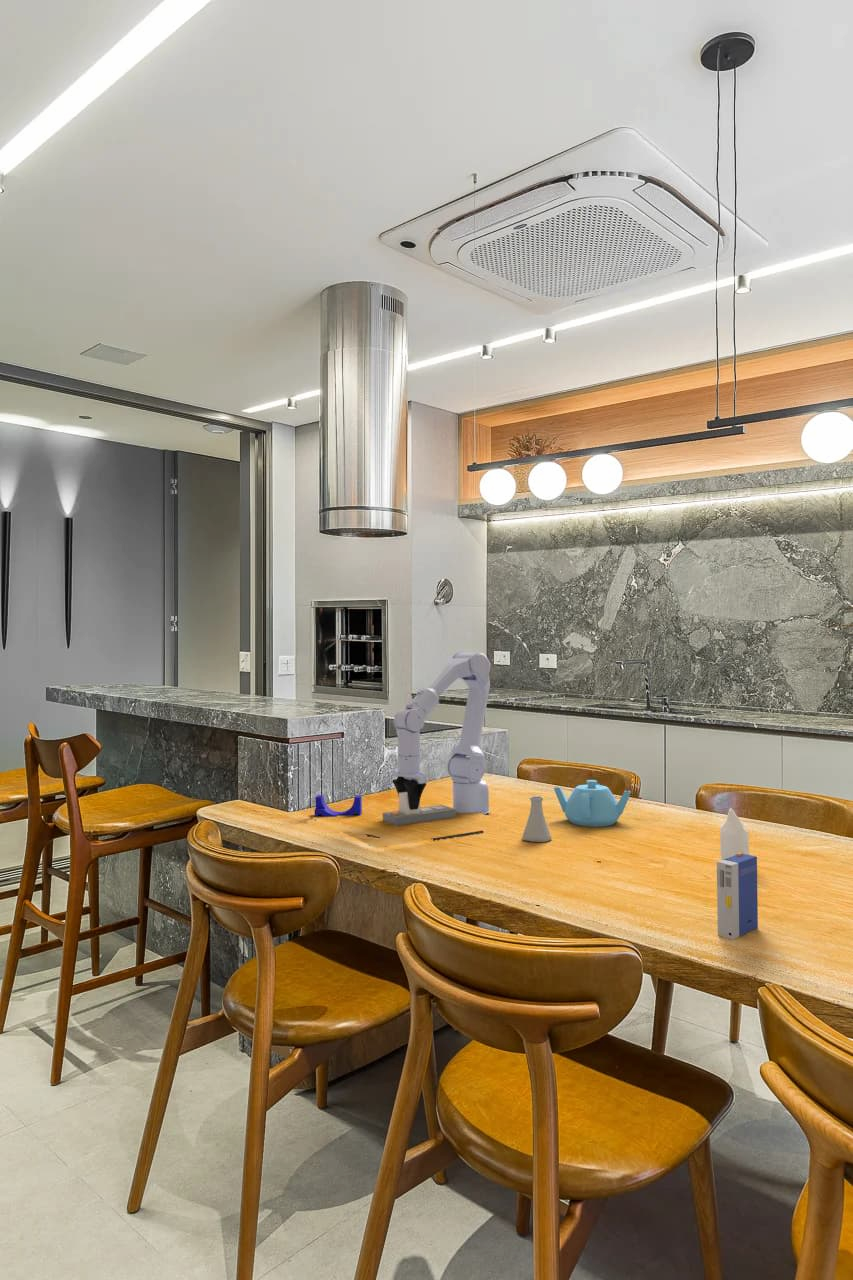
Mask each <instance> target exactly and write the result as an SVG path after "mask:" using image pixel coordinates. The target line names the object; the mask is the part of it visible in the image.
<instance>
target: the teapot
mask: <svg viewBox="0 0 853 1280" xmlns="http://www.w3.org/2000/svg"><path fill="white" fill-rule="evenodd" d="M585 782H586V784H579V785H577V786H576V787H574V789H573V790H572V792H571V794H570V795H569V797H568V798H567V795H566V794H565V793H564V792H563V790H562V788H561V786H554V787H553V791H554V792H555V794H556V797H557V800H558V802H559V805H560V808H561V810H562V812H563V813H564V815H565V817H566V820H568V821H569V822H570V823H571V824H573V825H576V826H581V827H590V828H591V827H593V828H594V827H595V828H597V827H609V826H613V825H614V824H615V823H616V822H618V820H619V819H620V817H621V816H622V814H623V813H624V810H625V808H626V805H627V804H628V801H629V799H630V796H631V795H632V794H631V793H632V791H631V790H624V791H623V793H622V795H621V797H620V798H619V800H618V802H617V800H616V798H615V796H614V794H613V792H612V791H611V790H610V788H609V787H608V786H606V785H601V784H600V783H598V780H596V779H587V780H586V781H585Z"/></svg>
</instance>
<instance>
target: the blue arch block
mask: <svg viewBox="0 0 853 1280" xmlns="http://www.w3.org/2000/svg"><path fill="white" fill-rule="evenodd" d="M362 798H363V795H362V794H360V795H359V794H357V795H355V796H354V799H353V802H352V805H351V807H349V809H347V810H344V811H336V810H333V809H332V808H330V807H329V806H328V805H327V803H326V801H325V798H324V794H321V795H320V794H317V795H316V796H315V808H314V817H318V816H319V815H321V816H322V817H327V818H328V817H330V818H332V817H335V818H337V817H338V816H354V814H356V815H357V816H361V815H362V814H363V806H362V805H363V803H362V802H363V801H362V800H363V799H362ZM314 821H317V819H314Z"/></svg>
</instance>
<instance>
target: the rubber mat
mask: <svg viewBox="0 0 853 1280" xmlns="http://www.w3.org/2000/svg"><path fill="white" fill-rule="evenodd" d="M480 833H481V834H484V830H479V831H471V832H466V833H465V832H464V833H458V834H452V835H445V836H439V837H433V838H431V840H432V839H433V840H432V841H434V840H437V841H441V840H440V839H443V840H447V838H450V839H455V837H456V838H461V837H467V836H468V837H469V836H473V835H474V834H475V835H480Z"/></svg>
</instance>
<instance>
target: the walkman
mask: <svg viewBox="0 0 853 1280" xmlns="http://www.w3.org/2000/svg"><path fill="white" fill-rule="evenodd" d="M716 891H717V893H716V896H717V897H716V898H717V899H716V900H717V901H716V902H717V903H716V904H717V906H716V907H717V936H721V937H722V938H723V937H724V938H725V939H729V940H732V941H733V940H735V939H737V938H739V937H742V936H744V935H746V934H747V933H750V932H752V931H754V930H756V929H759V920H758V918H759V917H758V916H759V915H758V914H759V912H758V910H759V909H758V905H759V904H758V902H759V901H758V857H757V856H756V855H750V854H749V855H747V854H743V853H740V852H739V853H736V855H735V856H732V857H729V858H726V859H723V860H717V861H716Z"/></svg>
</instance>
